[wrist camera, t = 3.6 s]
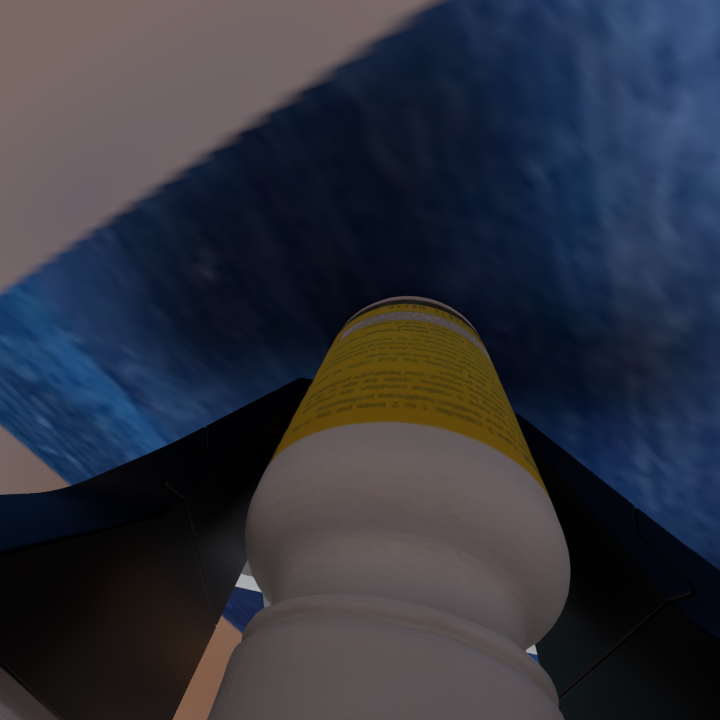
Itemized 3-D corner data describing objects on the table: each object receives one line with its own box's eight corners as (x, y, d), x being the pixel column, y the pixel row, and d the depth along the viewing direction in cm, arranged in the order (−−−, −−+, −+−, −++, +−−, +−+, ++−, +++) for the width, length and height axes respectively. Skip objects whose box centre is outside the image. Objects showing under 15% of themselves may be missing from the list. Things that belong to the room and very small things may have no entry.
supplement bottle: (313, 307, 11) (-46, 728, 2) (479, 277, 10) (991, 943, 1) (351, 430, 13) (237, 865, 5) (488, 418, 12) (675, 986, 3)
